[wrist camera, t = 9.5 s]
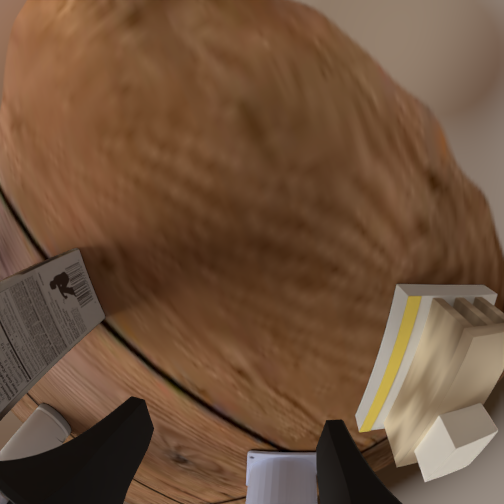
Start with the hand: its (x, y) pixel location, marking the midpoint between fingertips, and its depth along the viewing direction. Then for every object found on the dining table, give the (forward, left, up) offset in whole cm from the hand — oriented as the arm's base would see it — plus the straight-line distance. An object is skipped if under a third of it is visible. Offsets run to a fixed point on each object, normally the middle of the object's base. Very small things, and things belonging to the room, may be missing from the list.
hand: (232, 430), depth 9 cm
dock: (-4, -14, -9) cm, 17 cm away
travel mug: (-23, +29, -10) cm, 38 cm away
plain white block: (-5, -14, -2) cm, 15 cm away
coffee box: (0, +17, -10) cm, 20 cm away
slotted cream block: (-3, -14, -7) cm, 16 cm away
